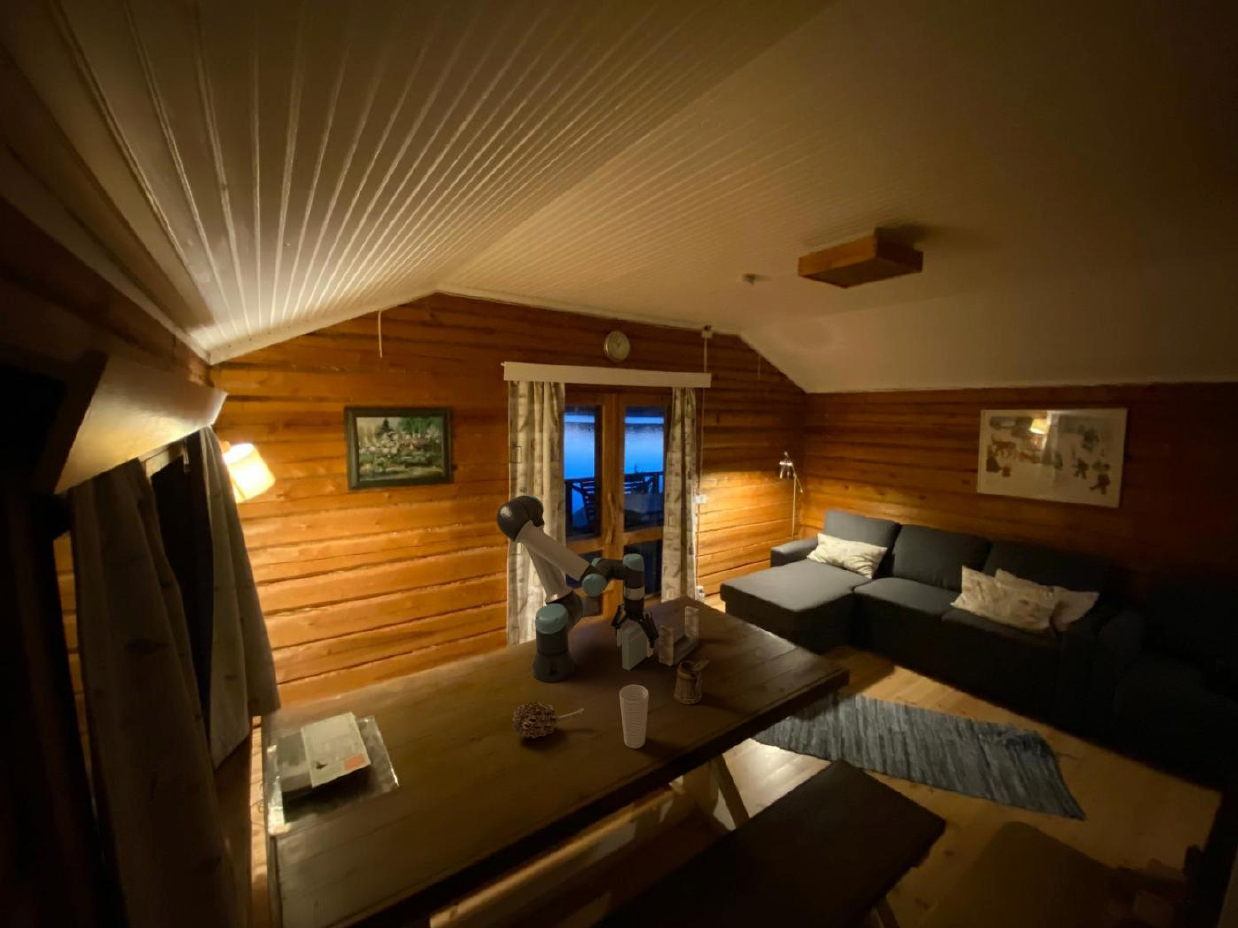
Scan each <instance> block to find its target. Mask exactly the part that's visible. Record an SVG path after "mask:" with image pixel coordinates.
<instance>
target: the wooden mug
mask: <svg viewBox="0 0 1238 928" xmlns="http://www.w3.org/2000/svg"><path fill="white" fill-rule="evenodd" d="M709 662H710V658H708V657H705V658H703V659H701V660H700V661H698V662H696V663H695V662H693V661H691V660H683V661H680V662H679V663H678V667H677V672H676V673H677V676H676V678H677V679H676V684H675V689H674V693H673V697H674V700H675V701H677V702H678V703H680V704H683V705H695V704H698V703H699V702H700V701H701V699H702V694H703V693H702V691H701V687H702V684H703V676H702V672H701V671H702V670H703V668H705V667H706V666H707V665H708V664H709Z"/></svg>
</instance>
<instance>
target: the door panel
mask: <svg viewBox="0 0 1238 928" xmlns="http://www.w3.org/2000/svg"><path fill="white" fill-rule="evenodd" d="M640 621H642V619H641V620H640ZM647 640H648V637H647V635H646V634H645V632H644V630H643V629H642V627H641V625H639V624H638V622H634V623H633V624H631V625H630V626H629V627H627V628H625V629H623V632H622V645H621V657H622V658H621V660H622V661H621V663H622V664H621V665H622V669H625V670H627V671H630V670H631V669H633V668H634V667H636V665H638V664H639V663H640V662H642V661H643V660H644V659H645V658H647Z"/></svg>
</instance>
